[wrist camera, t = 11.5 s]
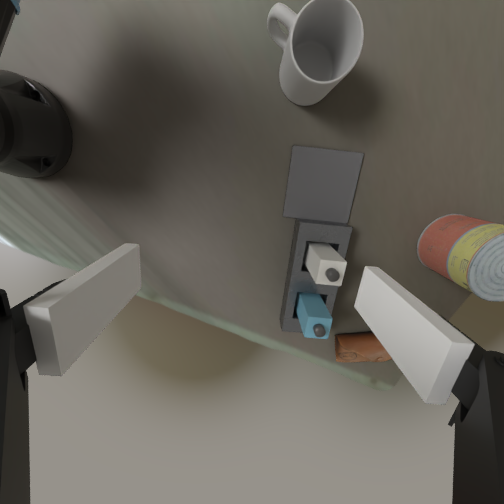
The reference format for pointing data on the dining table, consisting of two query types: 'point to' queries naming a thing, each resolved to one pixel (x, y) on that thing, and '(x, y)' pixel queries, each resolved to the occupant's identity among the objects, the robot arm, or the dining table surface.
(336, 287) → the strip
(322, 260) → the white knobbed block
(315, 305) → the plug
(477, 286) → the canned food
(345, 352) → the sunglasses case
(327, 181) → the mat
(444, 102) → the dining table surface
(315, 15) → the mug
